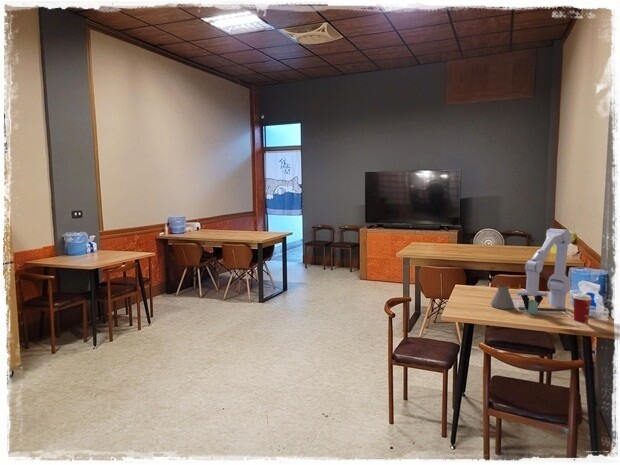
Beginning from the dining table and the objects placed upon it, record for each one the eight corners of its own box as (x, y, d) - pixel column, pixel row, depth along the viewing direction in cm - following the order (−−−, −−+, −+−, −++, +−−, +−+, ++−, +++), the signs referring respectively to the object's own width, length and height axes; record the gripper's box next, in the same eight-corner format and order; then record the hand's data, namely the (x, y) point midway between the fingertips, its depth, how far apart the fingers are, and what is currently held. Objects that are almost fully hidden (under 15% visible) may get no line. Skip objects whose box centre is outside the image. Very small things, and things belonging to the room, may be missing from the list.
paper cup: (591, 326, 204) (593, 298, 202) (573, 324, 206) (575, 296, 205) (587, 321, 211) (589, 294, 209) (569, 320, 214) (571, 292, 212)
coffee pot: (517, 312, 226) (519, 284, 224) (495, 312, 227) (497, 284, 225) (501, 301, 247) (502, 276, 246) (481, 301, 248) (482, 276, 246)
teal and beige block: (524, 310, 226) (525, 297, 225) (532, 310, 225) (533, 297, 224) (529, 314, 219) (530, 301, 218) (537, 314, 218) (538, 301, 217)
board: (518, 311, 228) (518, 306, 227) (564, 313, 225) (564, 308, 224) (525, 318, 217) (526, 312, 216) (574, 320, 214) (574, 314, 213)
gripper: (520, 285, 217) (518, 311, 219) (550, 286, 215) (549, 312, 217) (515, 282, 224) (514, 307, 226) (545, 282, 222) (543, 308, 224)
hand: (531, 309), depth 222 cm, fingers closed on teal and beige block, 4 cm apart
